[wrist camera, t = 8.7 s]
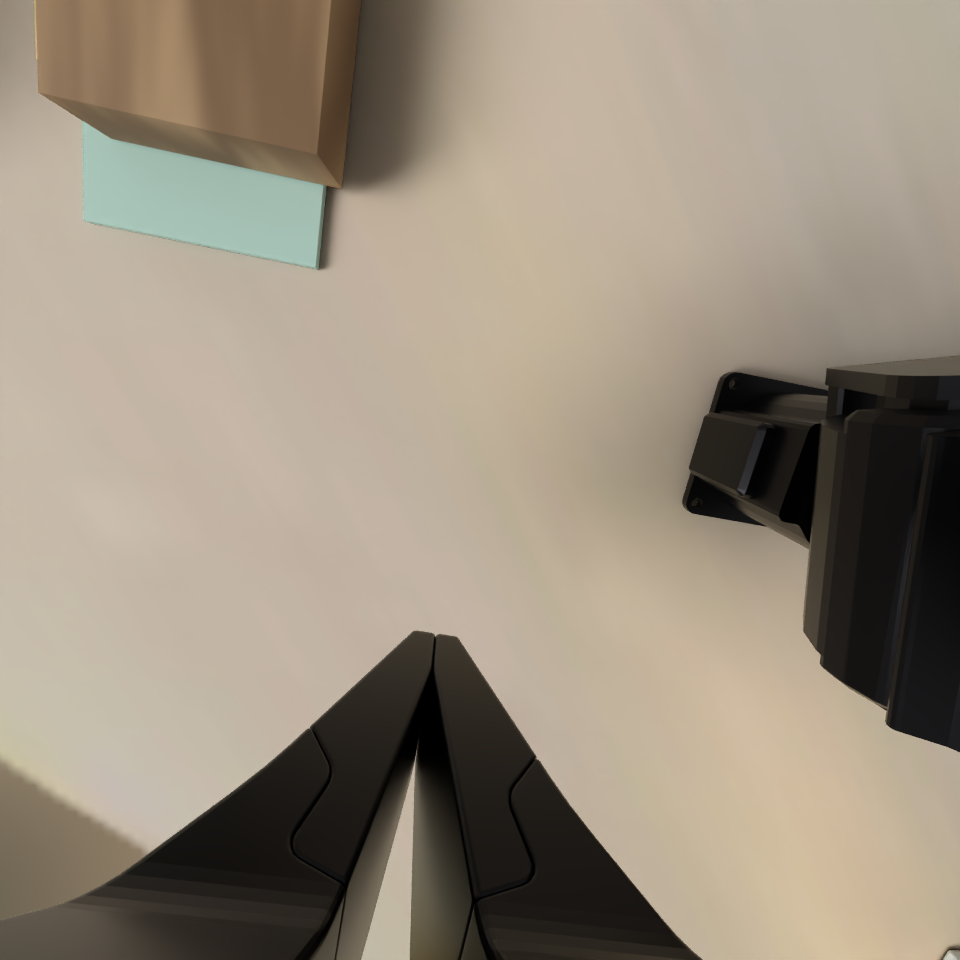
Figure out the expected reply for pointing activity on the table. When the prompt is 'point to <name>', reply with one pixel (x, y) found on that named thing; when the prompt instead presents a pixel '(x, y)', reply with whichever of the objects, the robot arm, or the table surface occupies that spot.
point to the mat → (201, 201)
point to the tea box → (952, 955)
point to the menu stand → (208, 77)
